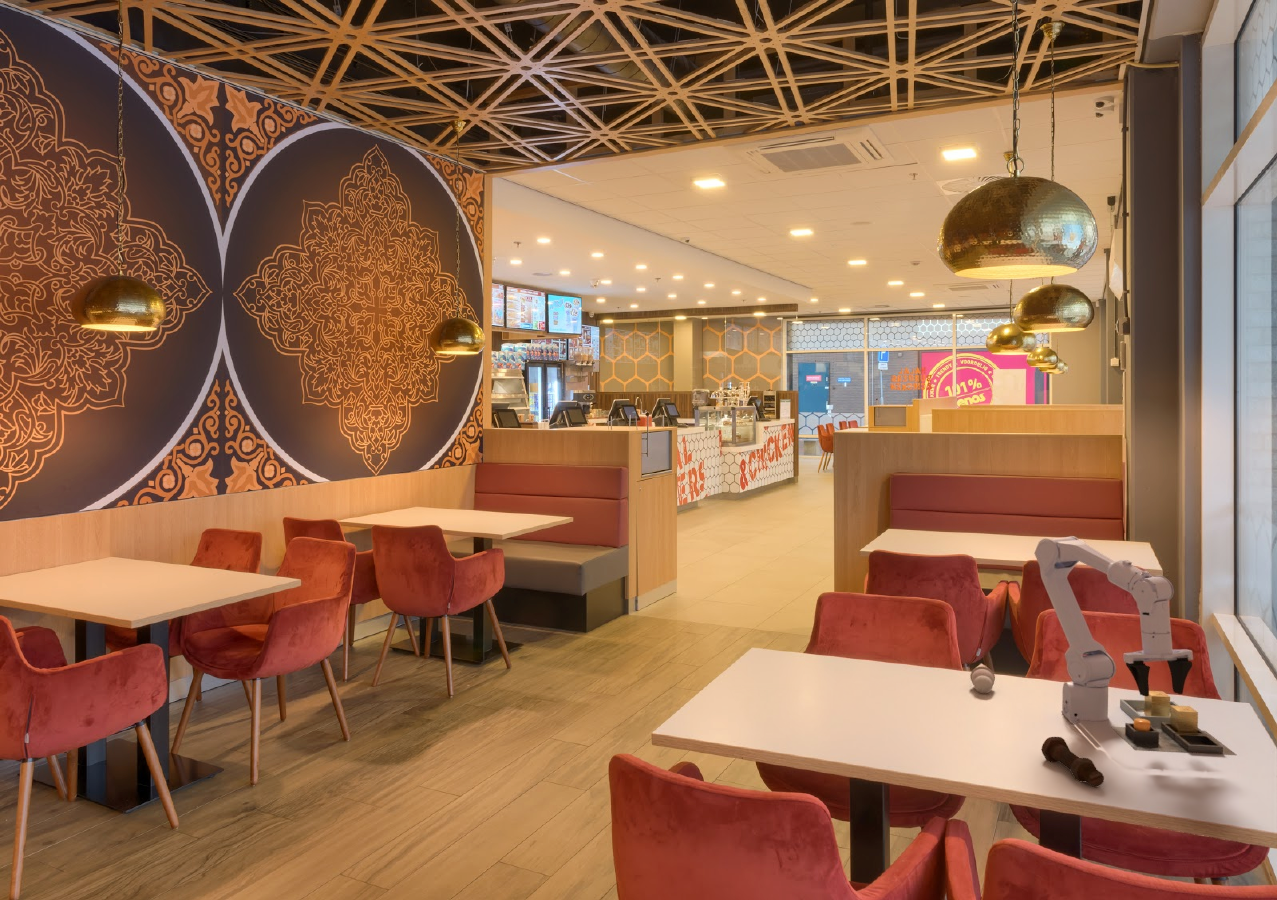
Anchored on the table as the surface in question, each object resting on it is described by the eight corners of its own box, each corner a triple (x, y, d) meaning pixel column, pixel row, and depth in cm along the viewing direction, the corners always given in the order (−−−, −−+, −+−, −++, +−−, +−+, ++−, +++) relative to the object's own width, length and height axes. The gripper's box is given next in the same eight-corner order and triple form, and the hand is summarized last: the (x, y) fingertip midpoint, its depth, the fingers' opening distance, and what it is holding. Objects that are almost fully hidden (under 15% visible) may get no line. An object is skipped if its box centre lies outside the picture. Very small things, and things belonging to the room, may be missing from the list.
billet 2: (1177, 737, 194) (1178, 711, 194) (1169, 731, 198) (1170, 705, 198) (1197, 738, 194) (1197, 712, 193) (1189, 732, 198) (1189, 706, 197)
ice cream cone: (982, 677, 241) (985, 703, 227) (964, 663, 242) (965, 688, 228) (998, 663, 239) (1001, 688, 225) (979, 648, 240) (982, 673, 226)
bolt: (1093, 798, 171) (1049, 765, 186) (1114, 785, 172) (1068, 752, 186) (1080, 774, 170) (1037, 743, 185) (1102, 761, 171) (1056, 730, 186)
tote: (1139, 728, 202) (1140, 716, 202) (1119, 711, 214) (1120, 699, 214) (1196, 731, 201) (1196, 718, 200) (1172, 713, 212) (1173, 701, 212)
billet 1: (1151, 721, 206) (1151, 696, 205) (1144, 715, 210) (1144, 690, 209) (1169, 721, 205) (1170, 696, 205) (1162, 715, 209) (1162, 691, 209)
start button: (1136, 734, 193) (1137, 723, 192) (1131, 729, 196) (1131, 718, 196) (1152, 735, 192) (1152, 723, 192) (1146, 729, 195) (1146, 718, 195)
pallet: (1134, 754, 188) (1135, 738, 188) (1110, 730, 202) (1110, 715, 201) (1236, 759, 185) (1237, 743, 184) (1205, 734, 198) (1205, 719, 198)
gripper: (1135, 636, 188) (1140, 700, 188) (1200, 632, 189) (1205, 696, 188) (1115, 631, 195) (1120, 693, 195) (1178, 627, 196) (1183, 689, 195)
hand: (1161, 694), depth 192 cm, fingers open, 7 cm apart
